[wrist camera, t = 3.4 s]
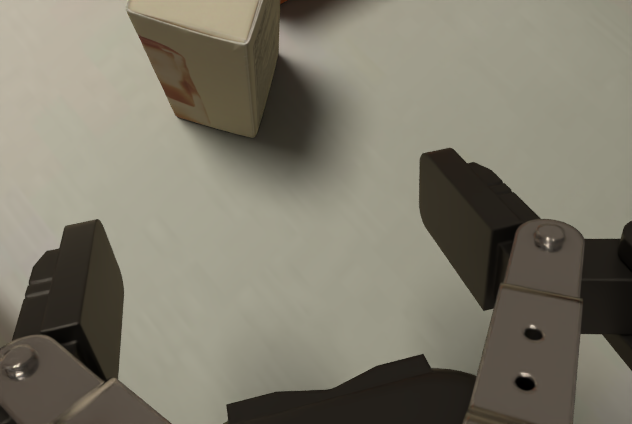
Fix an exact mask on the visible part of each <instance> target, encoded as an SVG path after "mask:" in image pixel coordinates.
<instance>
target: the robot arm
mask: <svg viewBox="0 0 632 424" xmlns="http://www.w3.org/2000/svg"><path fill="white" fill-rule="evenodd" d="M419 208H420V214H421V218H422V221H423V223H424V225H425V227H426V229H427V230H428V232H429V233H430V234H431V236H432V237H433V239H434V240H435V242H436V243H437V245H438V246H439V247H440V249H441V250H442V252H443V253H444V255H445V256H446V257H447V259H448V260H449V262H450V263H451V265H452V266H453V268H454V269H455V270H456V272H457V273H458V275H459V276H460V278H461V279H462V280H463V282H464V283H465V285H466V286H467V288H468V289H469V290H470V292H471V293H472V295H473V296H474V298H475V299H476V301H477V302H478V303H479V305H480V306H481V308H482V309H483V311H485V310H489V309H493V308H494V310H493V314H492V318H491V322H490V326H489V330H488V334H487V337H486V341H485V345H484V349H483V353H482V357H481V361H480V365H479V369H478V373H477V376H475V375H473V374H469V373H465V372H462V371H457V370H451V369H440V368H431V367H430V366H429V364H428V362H427V360H426V358H425V356H424V354H421V355H417V356H413V357H409V358H406V359H402V360H398V361H394V362H390V363H386V364H382V365H378V366H376V367H374V368H372V369H370V370H368V371H366V372H364V373H362V374H360V375H358V376H356V377H354V378H352V379H351V380H349V381H347V382H345V383H343V384H341V385H339V386H337V387H335V388H333V389H329V390H309V391H282V392H274V393H270V394H266V395H262V396H258V397H254V398H250V399H246V400H243V401H239V402H235V403H231V404H227V413H228V421H227V422H225V423H223V424H573V415H574V403H575V391H576V379H577V367H578V355H579V343H580V334H602V335H603V336H604V337H605V338H606V340H607V341H608V342H609V343H610V345H611V346H612V347H613V348H614V350H615V351H616V352H617V353H618V354H619V356H620V357H621V358H622V359H623V361H624V362H625V363H626V364H627V366H628V367H629V368H630V369H631V371H632V221H630V222H629V223H627V224H626V225H625V226H624V229H623V232H622V236H621V239H584V237H583V236H582V234H581V233H580V232H579V231H578V230H577V229H576V228H574V227H573V226H571V225H569V224H566V223H564V222H561V221H557V220H551V219H541V218H539V217H538V216H537V215H536V214H535V213H534V212H533V211H532V210H531V209H530V208H529V207H528V206H527V205H526V204H525V203H524V202H523V201H522V200H521V199H520V198H519V197H518V196H517V195H516V194H515V193H514V192H512V191H511V189H510V188H509V187H508V186H507V185H506V184H505V183H503V182H502V180H501V179H500V178H499V177H498V176H497V175H496V174H495V173H494V172H493V171H492V170H490V169H488V168H486V167H483V166H481V165H479V164H477V163H475V162H472V163H466V162H465V161H464V160H463V159H462V158H461V157H460V156H459V155H458V153H457V152H456V151H455V150H454V149H452V148H446V149H441V150H436V151H432V152H427V153H423V154H422V155H421V157H420V179H419ZM123 301H124V286H123V280H122V276H121V272H120V269H119V266H118V263H117V261H116V258H115V256H114V253H113V251H112V248H111V245H110V243H109V240H108V238H107V235H106V232H105V230H104V227H103V225H102V223H101V221H100V220H98V219H96V220H92V221H87V222H82V223H77V224H72V225H67V226H65V228H64V231H63V236H62V240H61V244H60V248H59V249H55V250H50V251H46V252H45V254H44V255H43V256H42V257H41V258H40V259H39V261H38V262H37V263H36V264H35V265H34V267H33V269H32V273H31V276H30V280H29V286H28V287H27V290H26V293H25V299H24V300H23V304H22V307H21V311H20V314H19V318H18V321H17V325H16V328H15V332H14V335H13V339H12V342H10V343H8V344H6V345H5V346H3V347H2V348H0V424H171V423H170V422H169V421H168V420H167V419H165V418H164V417H163V416H162V415H160V414H159V413H158V412H157V411H156V410H154V409H153V408H152V407H151V406H149V405H148V404H147V403H146V402H145V401H143V400H142V399H141V398H140V397H138V396H137V395H136V394H135V393H134V392H132V391H131V390H130V389H129V388H127V387H126V386H125V385H124V384H123V383H121V382H120V381H119V380H118V372H119V358H120V344H121V329H122V315H123Z"/></svg>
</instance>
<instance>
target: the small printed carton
mask: <svg viewBox="0 0 632 424" xmlns="http://www.w3.org/2000/svg"><path fill="white" fill-rule="evenodd" d="M126 11H127V13H128V15H129V18H130V20H131V22H132V24H133V26H134V28H135V30H136V32H137V34H138V36H139V38H140V40H141V42H142V45H143V47H144V49H145V51H146V53H147V55H148V58H149V60H150V62H151V64H152V66H153V69H154V71H155V73H156V75H157V77H158V79H159V81H160V83H161V85H162V87H163V89H164V92H165V94H166V96H167V98H168V101H169V103H170V105H171V107H172V109H173V111H174V113H175V115H176V116H177V117H179V118H182V119H186V120H189V121H192V122H196V123H199V124H202V125H206V126H209V127H213V128H216V129H220V130H224V131H227V132H231V133H235V134H239V135H243V136H247V137H251V138H254V137H255V136H256V135H257V132H258V129H259V125H260V122H261V118H262V115H263V112H264V108H265V105H266V101H267V97H268V94H269V90H270V86H271V82H272V78H273V74H274V70H275V66H276V62H277V58H278V53H279V23H280V0H128V2H127V5H126Z"/></svg>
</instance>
